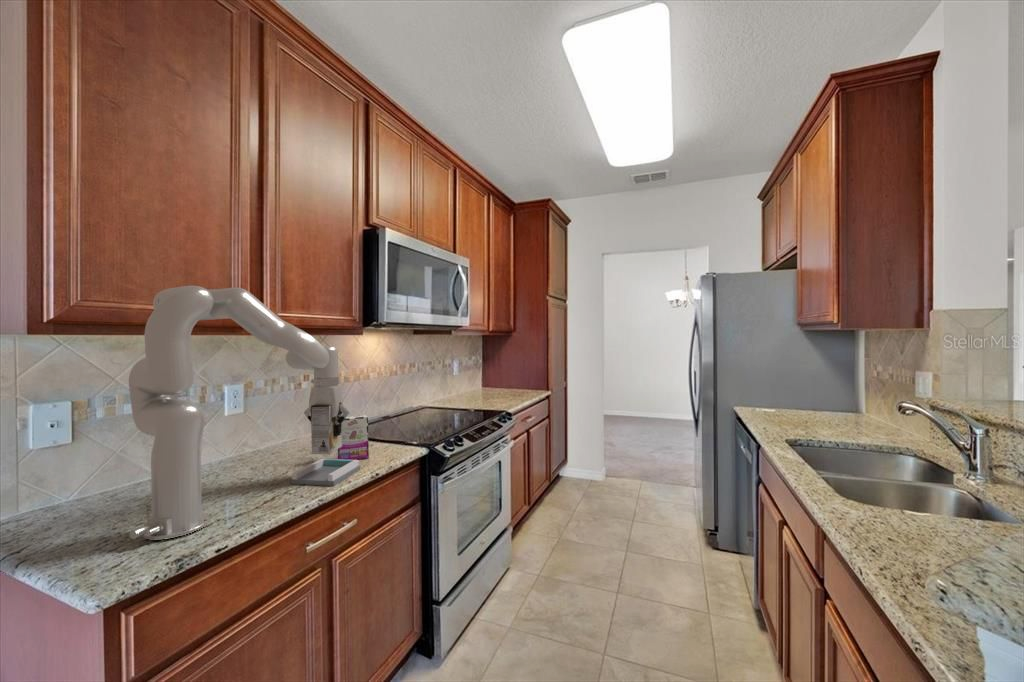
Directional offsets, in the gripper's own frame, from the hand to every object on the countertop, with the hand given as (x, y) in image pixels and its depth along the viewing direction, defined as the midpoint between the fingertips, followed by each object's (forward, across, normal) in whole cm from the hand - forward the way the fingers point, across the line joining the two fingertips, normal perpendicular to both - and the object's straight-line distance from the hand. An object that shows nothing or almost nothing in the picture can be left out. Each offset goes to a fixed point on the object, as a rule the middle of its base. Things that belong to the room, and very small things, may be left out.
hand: (326, 435), depth 137 cm
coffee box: (+5, 0, 0) cm, 5 cm away
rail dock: (+14, 0, 0) cm, 14 cm away
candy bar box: (+14, -2, +20) cm, 25 cm away
